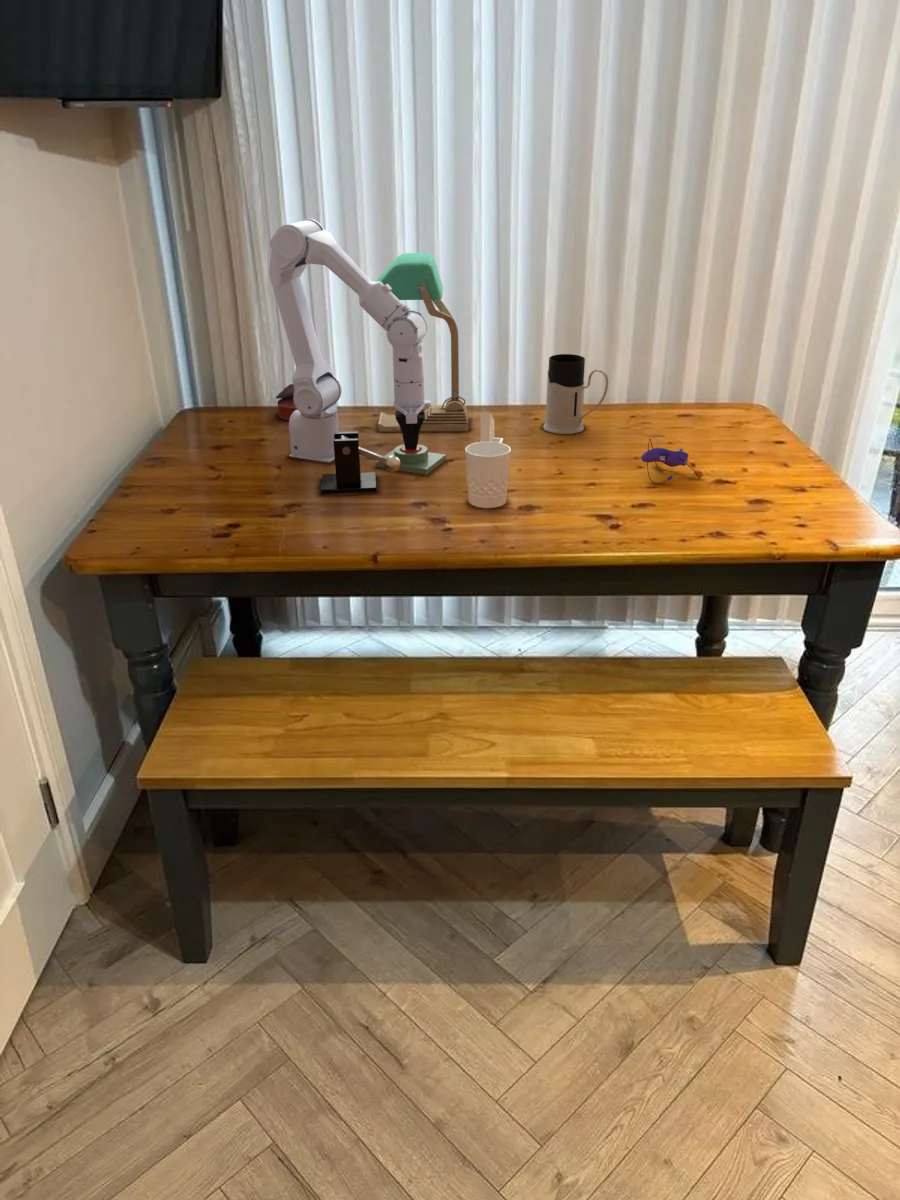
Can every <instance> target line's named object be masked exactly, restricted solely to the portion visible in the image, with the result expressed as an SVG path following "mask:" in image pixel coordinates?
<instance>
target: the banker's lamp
mask: <svg viewBox="0 0 900 1200" xmlns="http://www.w3.org/2000/svg"><path fill="white" fill-rule="evenodd" d="M437 265H438V264H437V262H436V259H435V257H434V256H433V255H432V254H431V253H427V252H407V253H401V254H399V255H398V256H396V257H395V258H394V259H393V260H392V261H391V263H390V264H389V265H388V266H387V267H386V268H385V269H384V270H383V272H381V273H380V275H378V277H377V278H376V279H375V281H374V282H382V283H383V284H384V285H386V284H388V285H389V286H390V287H391V288H392V290H391V292H392V293H393V294H394V295H395V296H396V297H397V298H398V299H399V300H400V301H423V303H424V306H425V308H426V310H427V312H428V314H429V315H430V316H432V317H434V318H439V319H442V320H443V321H445V322H446V325H447V326H448V329H449V333H450V369H451V370H450V376H451V377H450V379H451V381H450V382H451V385H450V387H451V392H450V393H451V394H450V395H451V397H448V398H446V399H445V400H444V401H443V403H442V404H440V405H437V404H436V405H433V404H432V405H431V406H428V408H426V409H425V410H424V414H425V419H424V421H423V423H422V426H421V428H420V432H469V412H468V410H467V406H466V399H465V398H464V397H462V396H460V379H459V377H460V376H459V375H460V374H459V373H460V371H459V370H460V369H459V367H460V365H459V364H460V362H459V359H460V358H459V357H460V356H459V355H460V354H459V329H458V326H457V323H456V320H455V319H454V317H453V316H452V315H453V314H451V312H450V311H449V309H448V308H447V306H446V305H445V303H443V300H442V299H443V293H444V285H443V281H442V278H441V275H440V272H439V268H438V266H437ZM436 308H437V309H436ZM377 430H378V431H377V432H378V433H379V432H381V433H382V432H383V433H384V432H388V433H389V432H393V433H394V432H395V433H396V432H397V433H398V432H401V433H402V431H401V428H400V426H399V424H398V422H397V420H396V417H395V414H387V413H386V412H384V411H381V412H380V415H379V419H378V422H377Z"/></svg>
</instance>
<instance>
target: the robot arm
mask: <svg viewBox="0 0 900 1200" xmlns="http://www.w3.org/2000/svg"><path fill="white" fill-rule="evenodd" d="M269 246H270V249H271V252H270V253H271V254H270V259H269V260H270V261H269V268H268V276H269V280H270V283H271V286H272V290H273V293H274V297H275V301H276V303H277V307H278V311H279V314H280V316H281V320H282V324H283V327H284V331H285V333H286V338H287V341H288V345H289V348H290V352H291V355H292V358H293V361H294V365H295V370H294V374H293V376H292V384H293V385H294V404H295V406H296V408H297V409H298V410H295V411H294V412H293V413H292V415H291V417H290V420H288V433H289V443H290V444H289V445H290V454H289V457H290V458H297V459H301V460H303V459H304V460H309V461H316V462H322V463H332V462H333V461H335V456H334V442H333V441H334V432H340V430H339V429H340V427H339V414H338V413H339V412H338V405H337V404H338V401H339V400H340V398H341V396H342V390H343V389H342V385H341V383H340V381H339V380H338V378H337V377H336V376H335V374H334V372H333V368H332V366H331V365H330V364H329V363H328V362H327V361H325V360H324V358H323V354H322V351H321V347H320V343H319V340H318V337H317V333H316V330H315V326H314V323H313V318H312V314H311V311H310V307H309V305H308V301H307V297H306V294H305V290H304V287H303V283H302V279H301V277H302V275H303V273H304V271H305V270H306V268H307V266H308V265H319V266H325V267H326V268H327V269H329V271H331V272H332V273H333V274H334V275H335V276H336V277H337V278H338V279H340V280H341V281H342V282H343V283H344V284H345V285H347V286H348V287H349V288H350V289H351V290H352V291H354V293H356V294H357V295H358V302H359V303H358V304H359V306H360V307H361V308H362V309H363V310H364V311H365V312H366V313H367V314H368V315H369V316H370V318H372V319H373V320H374V321H375V322H376V323H377V324H378V325H379V326H380V327H381V328H382V329H383V330H384V331H386V333H385V334H386V337H387V341H388V342H389V344H390V346H392V370H393V371H392V372H393V374H392V375H393V395H394V397H393V398H394V400H393V408H394V409H395V410H396V411H394V415H395V417H396V420H397V422H398V424H399V426H400V428H401V431H402V432H401V436H402V441H403V445H405V448H406V450H413V449H416V448H417V444H419V439H420V438H419V437H420V432H421V431H420V428H421V426H422V423H423V421H424V419H425V414H424V411H425V408H426V407H427V408H428V407H432V402H431V400H430V399H425V366H424V365H425V361H424V359H425V358H424V340H423V339H424V338H425V336H426V335H427V332H428V324H427V321H426V319H425V318H424V316H423V314H422V313H421V312H420V311H418V310H415V309H411V307H410V306H409V305H408V304H405V303H403V302H402V300H399V299H398V298H397V297H396V296H395V295H394V294H393V293H392V292H391V290H392V288H391V287H390V286H389V285H388V284H386V285H384V284H383V283H382V282H375V281H373V280H371V279H370V278H369V277H368V275H366V274H365V272H364V271H363V270H362V269H361V268H360V267H359V266H358V265H357V263H356V262H355V261H353V259H352V258H351V257H350V255H348V254H347V252H346V251H345V250H344V249H343V248H342V247H341V246H340V245H339V244H338V243H337V242H336V240H335V238H334V236H333V235H332V233H331V232H330V231H329V230H327V229H324V227H323V225H322V224H321V223H320V222H319V221H318V220H315V219H313V218H305V219H303V220H301V221H297V222H294V223H287V224H284V225H281V226H279V227H278V228H277V230H276V231H275V233H274V234H273V236H272V237H271V238H270V241H269Z"/></svg>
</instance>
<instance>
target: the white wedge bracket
mask: <svg viewBox="0 0 900 1200" xmlns="http://www.w3.org/2000/svg"><path fill="white" fill-rule="evenodd" d="M479 422H480V427H479V428H480V429H479V430H480V432H479V433H480V437H479V440H480V441H479V442H484V441H491V442H499V443H503V444H504V438H503V437H495V419H494V417H493V415H492V414H491V412H488V411H487V412H486V411H481V412H480V421H479Z"/></svg>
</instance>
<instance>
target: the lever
mask: <svg viewBox="0 0 900 1200" xmlns="http://www.w3.org/2000/svg"><path fill="white" fill-rule="evenodd" d="M340 439H351V438H348V437H346V436H343V435H342V436H341V438H340ZM359 455H360V456H363V457H365V458H368V459H370V460H372V461H375V462H376V461H378V462H380V463H383V464H384V466H385V468H384V469H386V471H388V472H390V473H393V472H394V473H395V472H397V471H399V470H398V469H399V467H400V460H399V458H398V457H396V456H394V455H391V456H388V457H387V458H386V457H384V456H385V455H380V454H378V453H376V452H373V451H371V450H369V449H366V448H363V447H360V446H359Z"/></svg>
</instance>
